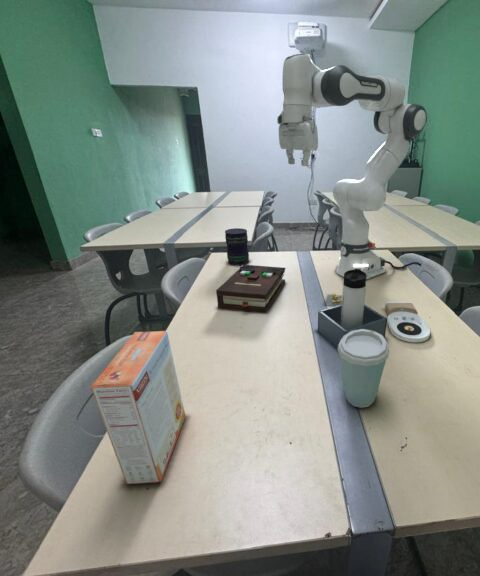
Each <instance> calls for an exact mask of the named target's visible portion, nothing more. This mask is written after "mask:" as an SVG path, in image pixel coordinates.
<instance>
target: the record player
mask: <svg viewBox="0 0 480 576" xmlns="http://www.w3.org/2000/svg"><path fill="white" fill-rule="evenodd" d="M384 309H385V311H386V314H387V317H386V318H387V326H388V329H389V331H390V333H391V334H392V335H393V336H394V337H395V338H397V339H398V340H401V341H403V342H406V343H407V342H408V343H422V342H425V341H427V340H429V338H430V336H431V328H430V327H429V325H428V324H427V322H426V320H425V319H424V318H423V317H422V316H420V315H419V314H418V310H417V309H416V306H414V304H413V302H412V301H386V302H385V303H384Z"/></svg>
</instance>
